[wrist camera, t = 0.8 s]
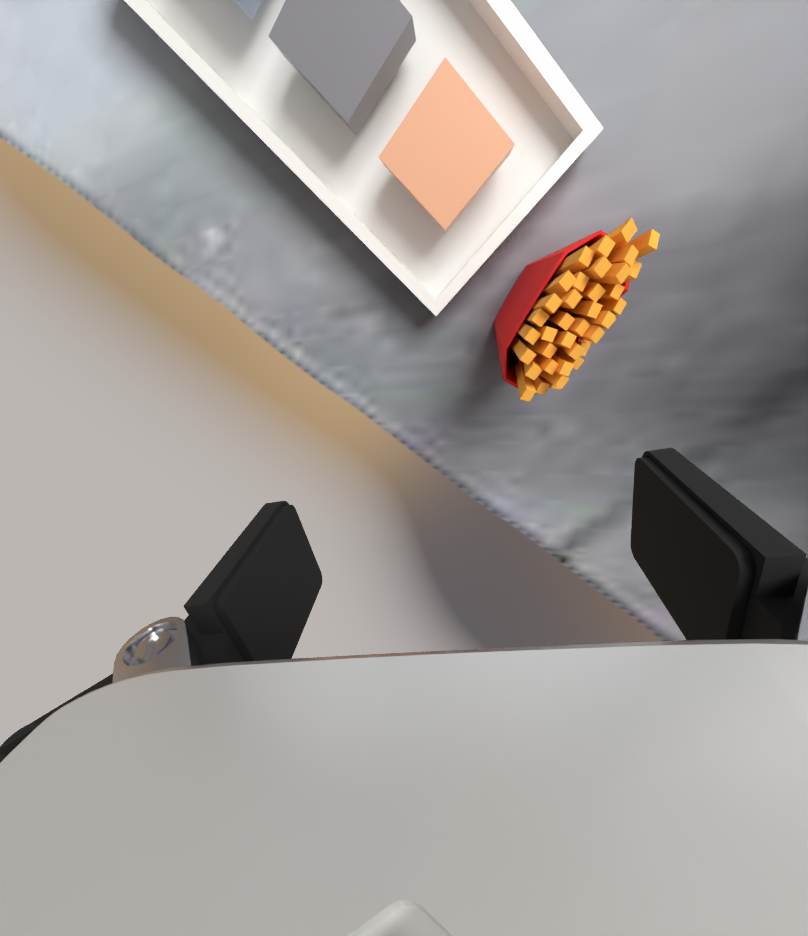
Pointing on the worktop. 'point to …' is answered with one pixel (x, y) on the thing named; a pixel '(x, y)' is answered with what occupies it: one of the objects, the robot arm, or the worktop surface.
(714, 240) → the worktop surface
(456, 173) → the terracotta key
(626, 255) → the french fries
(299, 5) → the charcoal key
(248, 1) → the dusty blue key
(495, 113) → the white rectangular tray
